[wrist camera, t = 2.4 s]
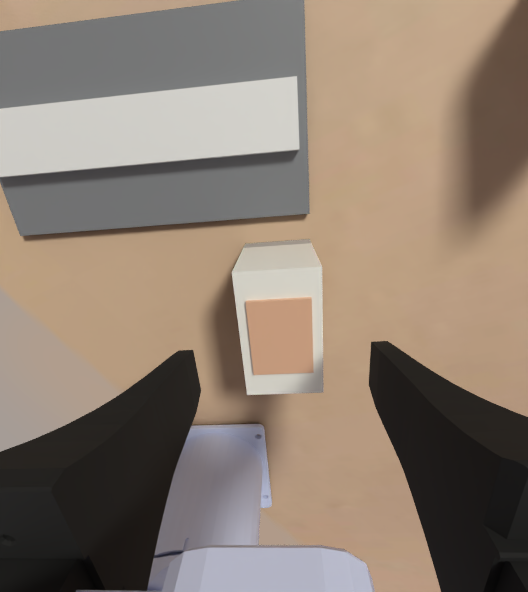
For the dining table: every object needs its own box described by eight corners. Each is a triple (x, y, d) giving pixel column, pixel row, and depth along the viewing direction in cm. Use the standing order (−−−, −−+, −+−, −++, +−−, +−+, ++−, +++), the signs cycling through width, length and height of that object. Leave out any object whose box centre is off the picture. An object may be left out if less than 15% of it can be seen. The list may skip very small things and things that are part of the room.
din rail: (308, 212, 18) (310, 215, 17) (26, 234, 20) (10, 238, 18) (303, -3, 15) (305, -18, 13) (-45, 42, 16) (-70, 31, 15)
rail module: (311, 335, 21) (323, 394, 16) (255, 338, 22) (246, 397, 16) (309, 239, 19) (322, 267, 13) (245, 243, 19) (231, 273, 13)
